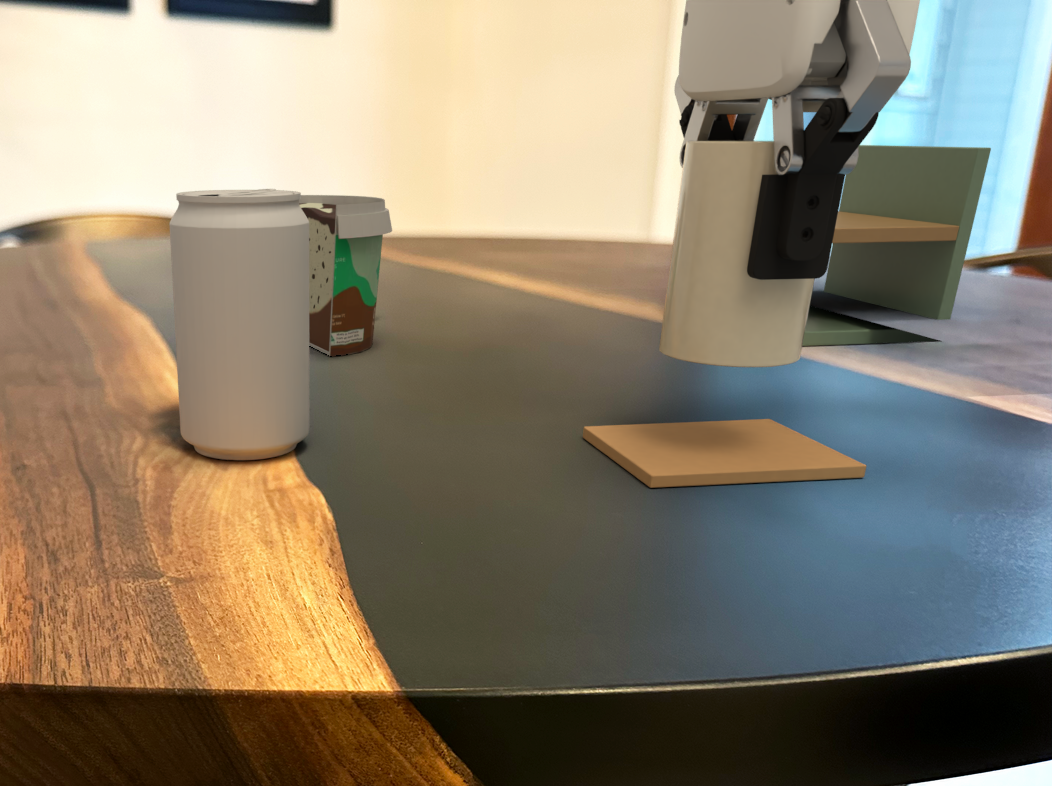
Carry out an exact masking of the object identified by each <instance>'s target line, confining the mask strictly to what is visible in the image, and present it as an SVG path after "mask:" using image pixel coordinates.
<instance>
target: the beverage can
mask: <svg viewBox="0 0 1052 786" xmlns="http://www.w3.org/2000/svg"><path fill="white" fill-rule="evenodd" d="M175 195H176V196H175V197H176V201H177V202H178V206H177V208H176V210H175V211H174V213H173V215H172V217H171V219H170V221H169V224H168V225H169V239H170V240H169V241H170V255H171V256H170V261H171V277H172V296H173V299H172V300H173V314H174V315H173V316H174V335H175V337H174V338H175V354H176V372H177V391H178V410H179V411H178V412H179V429H180V435H181V437H182V439H183V440H184V441H186V442H187V443H188V444H190V445H192V446H193V448H194V450H195V452H197V453H198V454H200V455H202V456H204V457H208V458H212V459H219V460H224V461H225V460H227V461H255V460H264V459H271V458H275V457H281V456H284V455H286V454H289V453H291V452H292V451H293V450H295V449H296V447H297V445H298V443H300V442H303V440H305V439H306V437H308V435H309V434H310V347H309V221H308V219H307V217H306V215H305V214H304V212H303V211H302V209H301V207H300V205H299V200H300V199H301V195H302V192H300V191H297V190H295V191H294V190H284V189H283V190H281V189H276V188H259V189H212V190H211V189H210V190H209V189H207V190H190V191H182V192H177V193H176V194H175Z"/></svg>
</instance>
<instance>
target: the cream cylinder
mask: <svg viewBox="0 0 1052 786" xmlns="http://www.w3.org/2000/svg"><path fill="white" fill-rule="evenodd" d="M770 174H777V172H776V170H775V164H774V139H754V140H694V141H687V142H686V148H685V156H684V163H683V168H682V172H681V180H680V187H679V193H680V194H679V195H678V201H677V208H678V209H677V208H676V209H677V210H676V215H675V216H676V217H675V225H674V231H675V232H674V233H673V239H672V246H673V247H672V246H671V255H670V263H669V269H668V270H669V271H668V277H667V286H666V294H665V301H664V309H663V314H662V315H663V316H662V323H661V331H660V338H659V346H658V350H659V352H660V353H661V354H663V355H665V356H667V357H669V358H672V359H675V360H678V361H682V362H688V363H692V364H699V365H707V366H716V367H729V368H774V367H781V366H787V365H791V364H795V363H796V362H799V361H800V359H801V355H802V350H803V346H802V344H803V339H804V334H805V328H806V323H807V318H808V312H809V307H810V305H811V300H812V296H813V292H814V291H813V290H814V285H815V281H816V280H815V279H773V280H759V279H755V278H752V277H750V276H749V275H748V273H747V266H748V260H749V254H750V247H751V241H752V235H753V229H754V223H755V216H756V210H757V204H758V198H759V192H760V185H761V179H762V175H770Z"/></svg>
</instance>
